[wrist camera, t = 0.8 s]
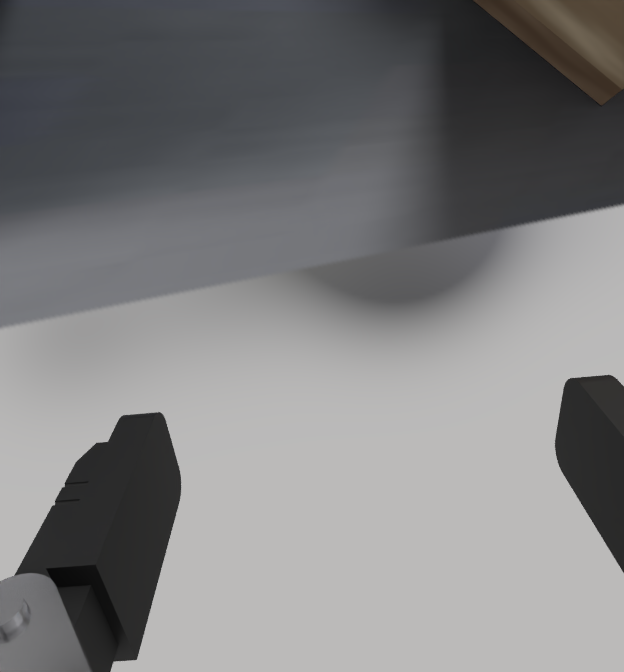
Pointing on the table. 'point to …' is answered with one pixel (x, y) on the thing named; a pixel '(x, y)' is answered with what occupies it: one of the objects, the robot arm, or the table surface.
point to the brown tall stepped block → (571, 38)
